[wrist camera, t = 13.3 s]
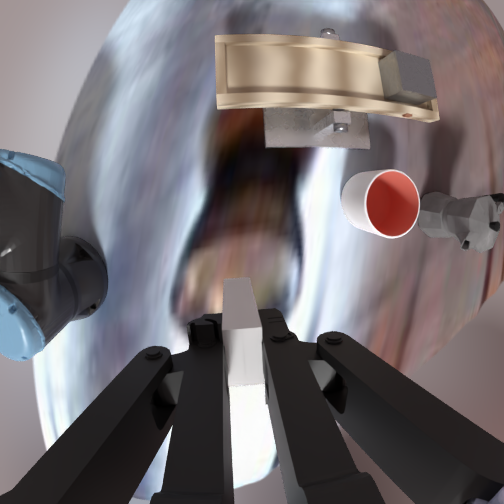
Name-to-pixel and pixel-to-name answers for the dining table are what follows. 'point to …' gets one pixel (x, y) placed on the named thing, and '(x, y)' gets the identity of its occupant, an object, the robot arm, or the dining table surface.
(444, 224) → the coffeepot
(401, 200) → the cup
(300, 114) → the stand
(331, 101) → the beam
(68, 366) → the dining table surface
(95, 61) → the dining table surface
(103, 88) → the dining table surface
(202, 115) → the dining table surface
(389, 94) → the block
